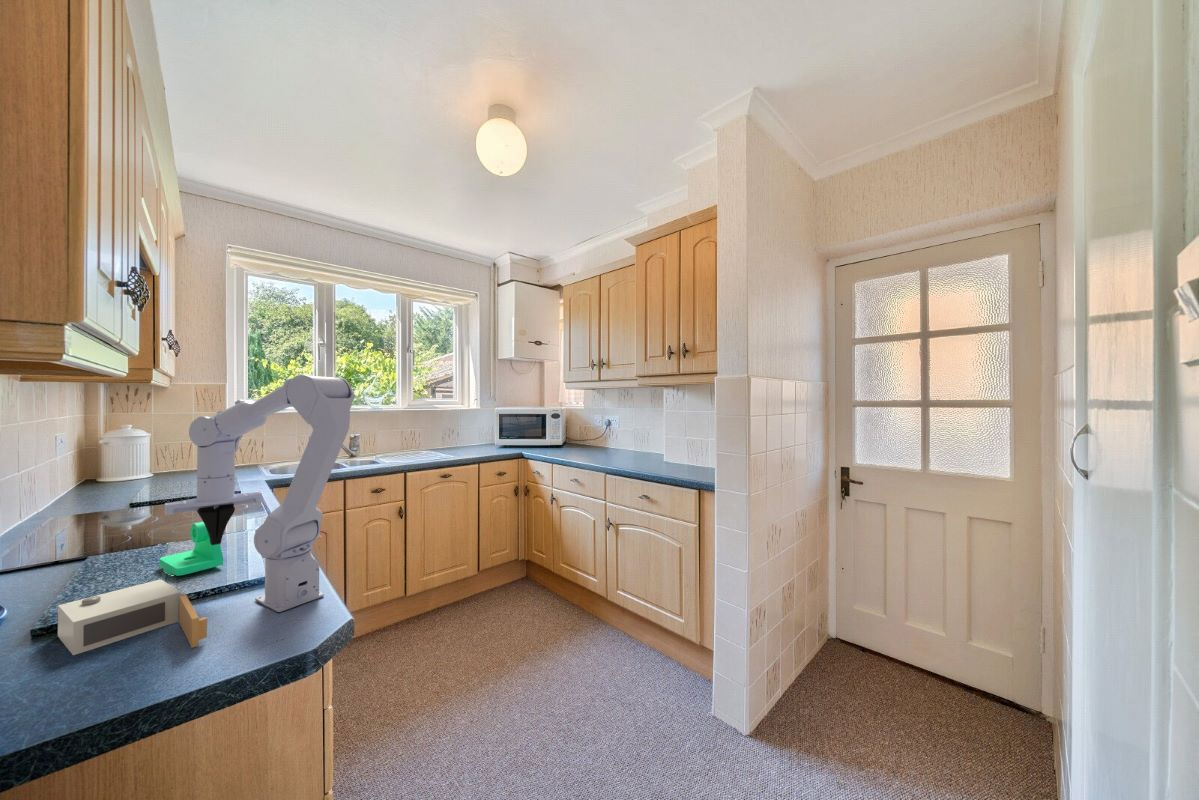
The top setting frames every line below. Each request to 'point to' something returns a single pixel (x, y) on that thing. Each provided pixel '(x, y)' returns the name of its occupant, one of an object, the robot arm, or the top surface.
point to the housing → (116, 615)
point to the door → (191, 621)
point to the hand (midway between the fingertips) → (215, 543)
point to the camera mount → (194, 554)
